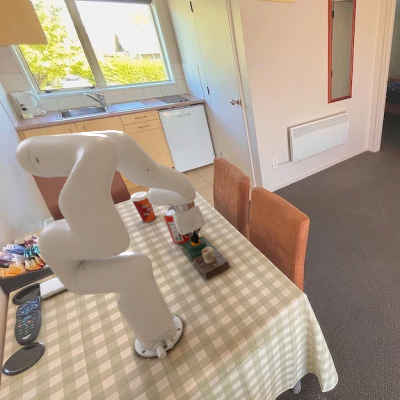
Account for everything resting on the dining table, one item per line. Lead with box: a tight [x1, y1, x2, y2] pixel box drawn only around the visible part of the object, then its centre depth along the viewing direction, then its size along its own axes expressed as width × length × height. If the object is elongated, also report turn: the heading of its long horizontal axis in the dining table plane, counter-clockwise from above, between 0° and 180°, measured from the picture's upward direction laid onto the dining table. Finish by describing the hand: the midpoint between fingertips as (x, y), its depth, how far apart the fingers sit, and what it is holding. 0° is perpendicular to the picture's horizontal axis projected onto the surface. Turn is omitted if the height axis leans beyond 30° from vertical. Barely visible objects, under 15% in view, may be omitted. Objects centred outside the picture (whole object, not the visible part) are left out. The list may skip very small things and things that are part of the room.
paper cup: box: [130, 190, 156, 223], centre depth 129 cm, size 8×8×14 cm
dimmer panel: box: [193, 247, 230, 280], centre depth 103 cm, size 11×9×3 cm
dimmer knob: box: [202, 247, 216, 264], centre depth 101 cm, size 4×4×5 cm
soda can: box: [163, 208, 191, 245], centre depth 115 cm, size 8×8×15 cm
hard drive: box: [39, 276, 67, 300], centre depth 97 cm, size 2×8×12 cm
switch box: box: [181, 235, 214, 262], centre depth 111 cm, size 10×9×4 cm
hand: (196, 241), depth 110 cm, fingers closed
